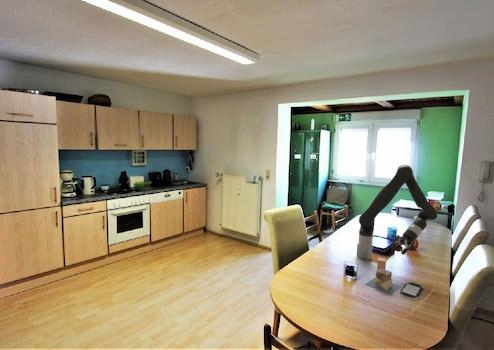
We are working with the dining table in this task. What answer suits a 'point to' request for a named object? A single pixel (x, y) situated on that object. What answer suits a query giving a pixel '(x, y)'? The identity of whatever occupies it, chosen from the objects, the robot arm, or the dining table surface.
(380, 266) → the terracotta pillar
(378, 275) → the tower top
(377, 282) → the tower base
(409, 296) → the gaming console
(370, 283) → the slate mat
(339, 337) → the dining table surface
